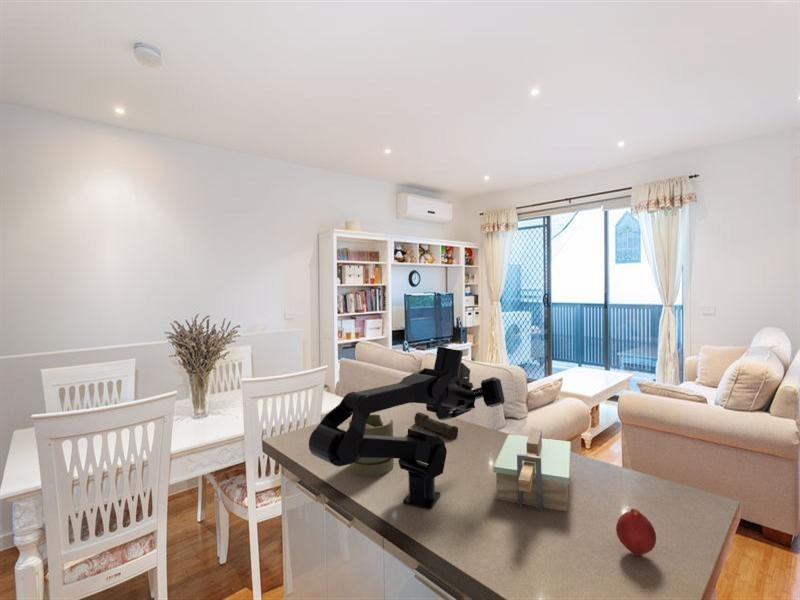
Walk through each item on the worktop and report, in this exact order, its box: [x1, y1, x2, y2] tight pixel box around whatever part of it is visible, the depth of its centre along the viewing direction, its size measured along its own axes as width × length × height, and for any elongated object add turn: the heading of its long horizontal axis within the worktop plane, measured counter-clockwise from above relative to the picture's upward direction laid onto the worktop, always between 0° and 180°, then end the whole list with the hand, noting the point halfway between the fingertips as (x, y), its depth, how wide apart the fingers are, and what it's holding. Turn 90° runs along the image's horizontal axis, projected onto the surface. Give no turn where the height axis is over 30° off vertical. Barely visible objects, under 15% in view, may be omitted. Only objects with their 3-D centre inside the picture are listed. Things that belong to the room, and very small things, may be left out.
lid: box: [493, 428, 572, 485], centre depth 93 cm, size 21×15×6 cm
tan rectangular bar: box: [519, 452, 537, 492], centre depth 81 cm, size 14×2×2 cm, turn 156°
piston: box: [348, 414, 395, 478], centre depth 105 cm, size 11×12×11 cm
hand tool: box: [413, 412, 459, 441], centre depth 131 cm, size 19×4×5 cm, turn 35°
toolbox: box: [495, 472, 569, 513], centre depth 93 cm, size 20×14×6 cm
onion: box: [615, 507, 657, 557], centre depth 68 cm, size 6×6×8 cm
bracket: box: [517, 454, 543, 512], centre depth 83 cm, size 1×5×11 cm, turn 66°
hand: (485, 404), depth 105 cm, fingers open, 9 cm apart
